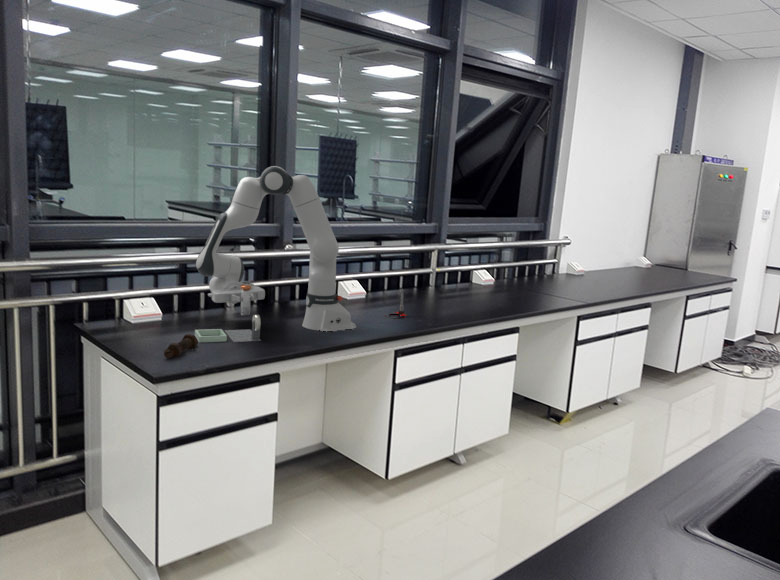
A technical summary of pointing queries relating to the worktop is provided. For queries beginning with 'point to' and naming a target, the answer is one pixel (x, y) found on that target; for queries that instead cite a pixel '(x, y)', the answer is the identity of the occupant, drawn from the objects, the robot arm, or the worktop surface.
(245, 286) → the lock pin
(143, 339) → the worktop surface
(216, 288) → the robot arm
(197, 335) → the tray
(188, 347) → the dark brown lumpy piece
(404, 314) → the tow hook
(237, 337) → the base
